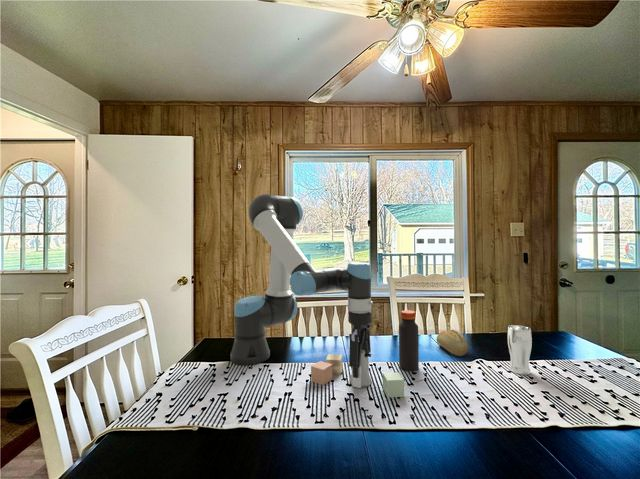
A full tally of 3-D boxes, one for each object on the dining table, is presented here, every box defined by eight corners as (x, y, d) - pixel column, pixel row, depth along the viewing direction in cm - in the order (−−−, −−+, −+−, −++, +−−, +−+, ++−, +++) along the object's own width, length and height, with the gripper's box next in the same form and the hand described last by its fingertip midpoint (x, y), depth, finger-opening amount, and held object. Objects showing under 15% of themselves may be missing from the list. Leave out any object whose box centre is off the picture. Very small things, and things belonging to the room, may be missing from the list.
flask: (371, 388, 93) (371, 356, 93) (348, 386, 94) (347, 354, 94) (372, 377, 100) (371, 347, 100) (350, 376, 101) (350, 346, 101)
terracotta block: (311, 381, 98) (311, 366, 98) (320, 375, 102) (320, 360, 102) (323, 385, 95) (323, 369, 95) (332, 379, 99) (332, 364, 99)
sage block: (387, 397, 88) (387, 380, 88) (382, 389, 93) (382, 372, 93) (404, 396, 88) (404, 379, 88) (398, 388, 93) (398, 372, 93)
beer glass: (528, 368, 106) (527, 325, 106) (535, 376, 99) (534, 331, 99) (505, 365, 108) (505, 324, 108) (510, 374, 102) (510, 329, 101)
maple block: (326, 373, 104) (326, 359, 104) (328, 367, 109) (328, 353, 109) (340, 375, 103) (340, 360, 103) (342, 368, 108) (342, 354, 108)
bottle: (401, 362, 112) (400, 308, 112) (420, 365, 109) (419, 310, 109) (397, 369, 106) (396, 312, 106) (417, 372, 103) (416, 314, 103)
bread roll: (450, 343, 132) (450, 325, 132) (475, 356, 117) (474, 336, 117) (430, 345, 130) (430, 327, 130) (453, 358, 115) (453, 338, 115)
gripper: (360, 319, 86) (362, 398, 86) (379, 305, 104) (380, 371, 104) (336, 316, 90) (338, 393, 90) (359, 303, 108) (360, 367, 108)
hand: (360, 381), depth 97 cm, fingers closed on flask, 7 cm apart
